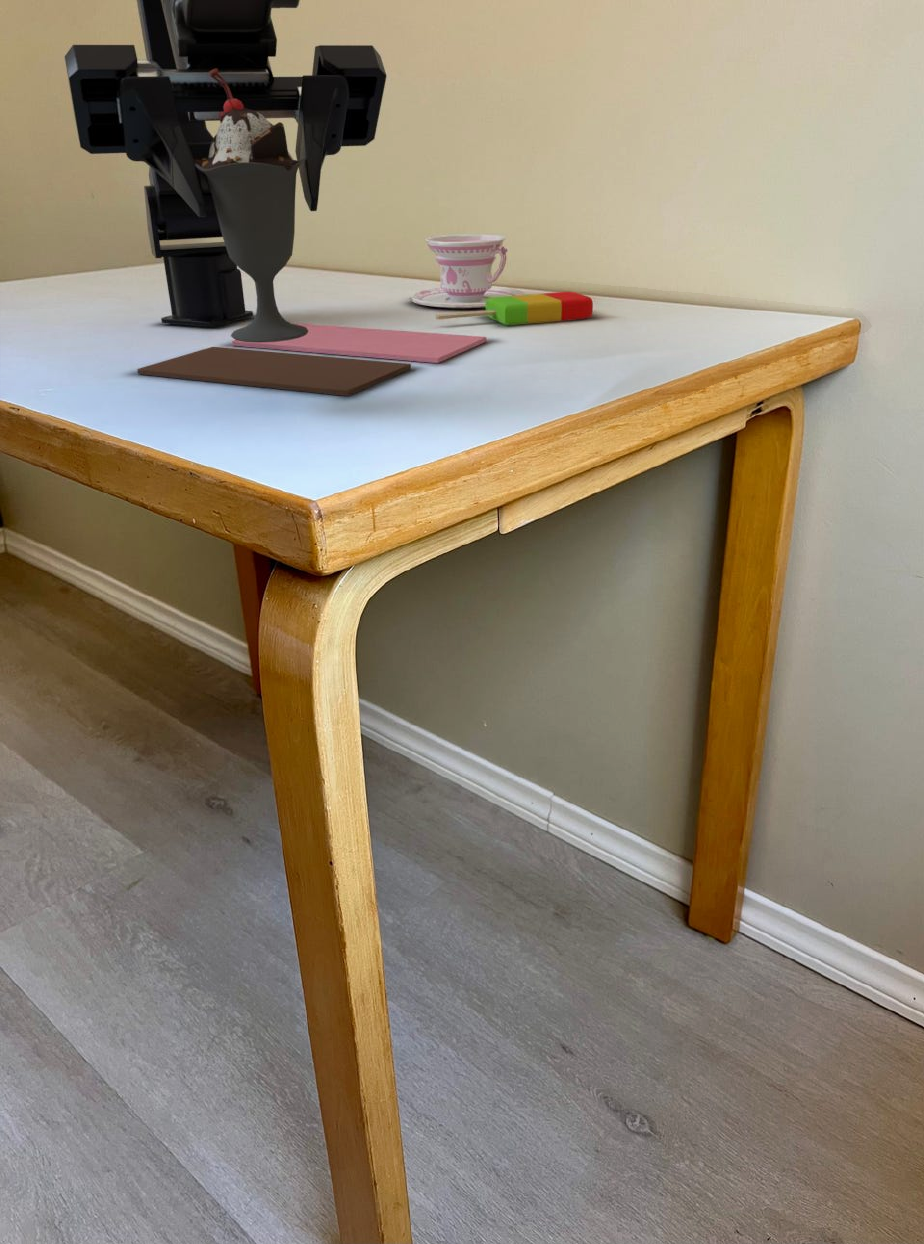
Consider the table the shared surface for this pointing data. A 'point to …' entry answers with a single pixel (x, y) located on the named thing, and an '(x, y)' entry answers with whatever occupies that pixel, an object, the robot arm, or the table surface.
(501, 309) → the popsicle
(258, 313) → the sundae
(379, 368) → the brown mat
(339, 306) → the table surface
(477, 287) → the teacup
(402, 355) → the pink mat
